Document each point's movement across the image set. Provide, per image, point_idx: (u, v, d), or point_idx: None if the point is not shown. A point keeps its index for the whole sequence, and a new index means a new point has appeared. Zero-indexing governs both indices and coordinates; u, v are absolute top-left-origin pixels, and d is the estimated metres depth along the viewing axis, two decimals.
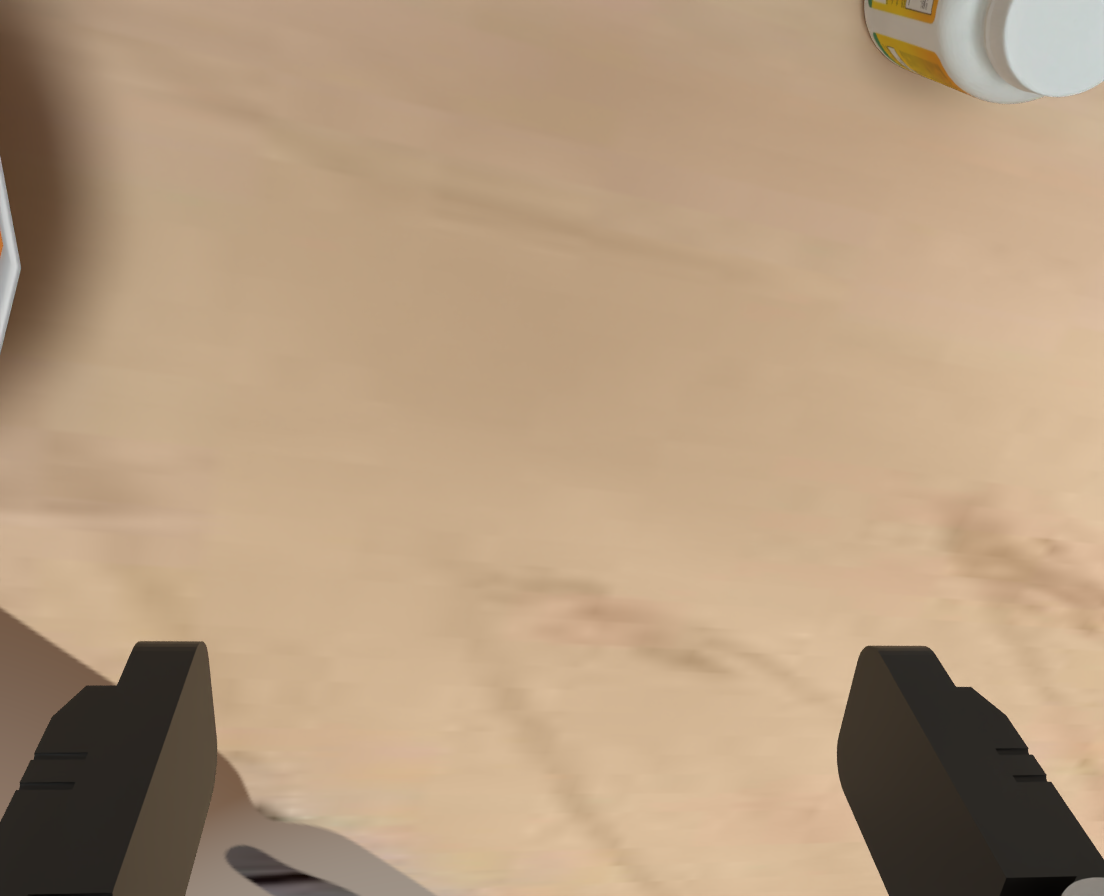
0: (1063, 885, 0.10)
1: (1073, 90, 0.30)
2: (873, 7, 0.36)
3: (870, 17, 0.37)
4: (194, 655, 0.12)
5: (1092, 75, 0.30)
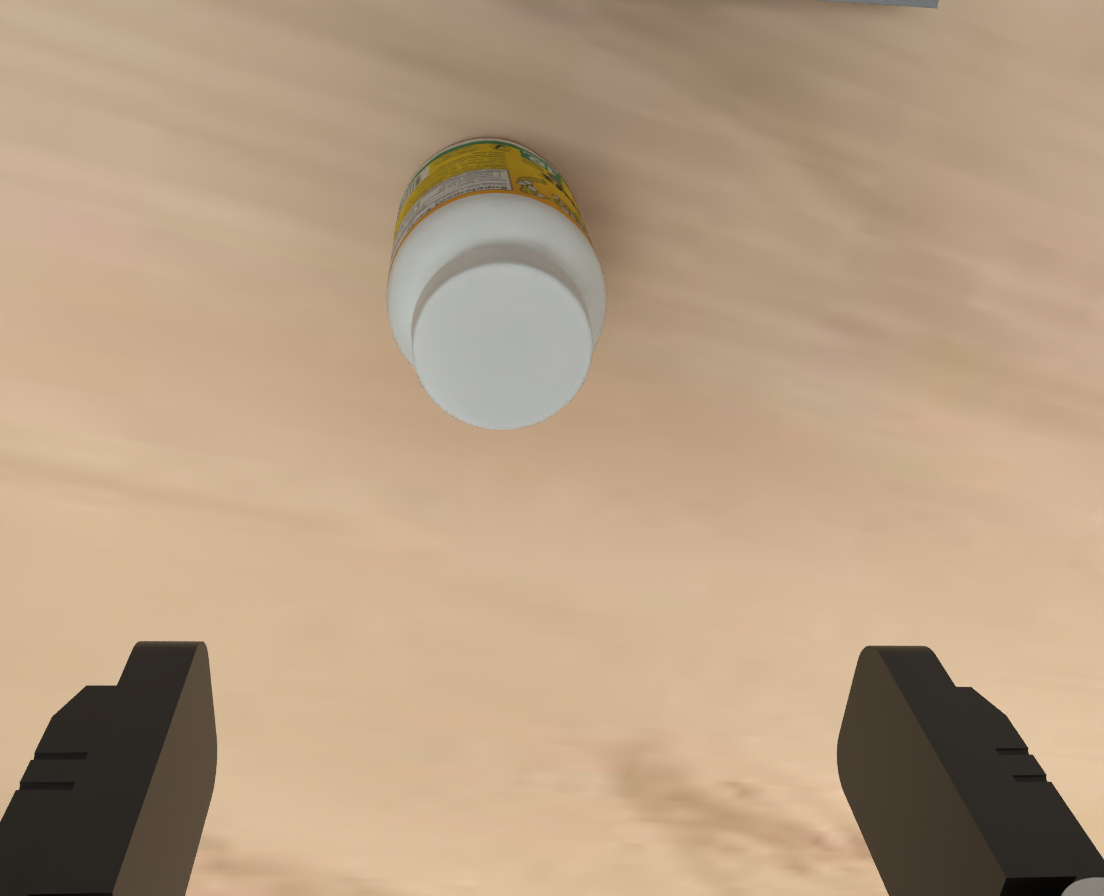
0: (1062, 885, 0.10)
1: (521, 423, 0.24)
2: None
3: None
4: (194, 655, 0.12)
5: (540, 406, 0.24)
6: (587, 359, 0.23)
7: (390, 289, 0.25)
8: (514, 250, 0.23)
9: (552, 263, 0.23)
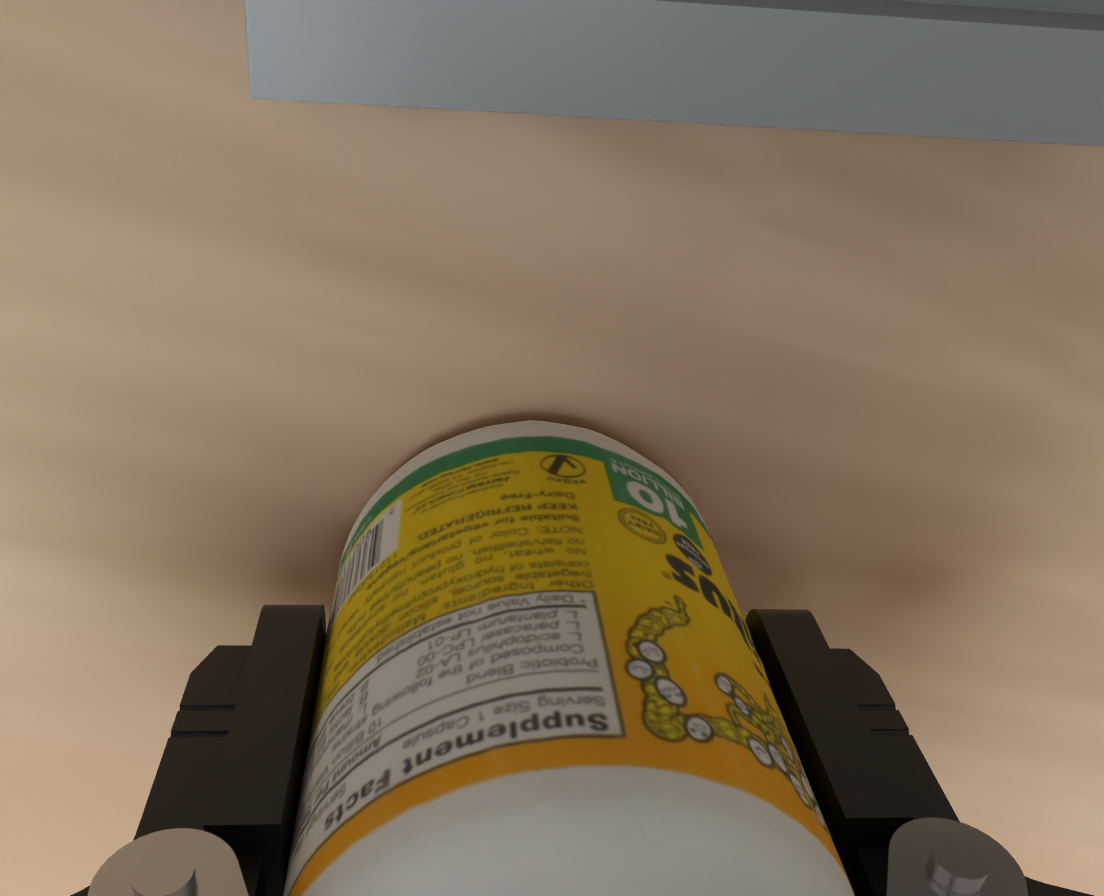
0: (901, 826, 0.10)
1: None
2: None
3: None
4: (318, 616, 0.12)
5: None
6: None
7: None
8: None
9: None
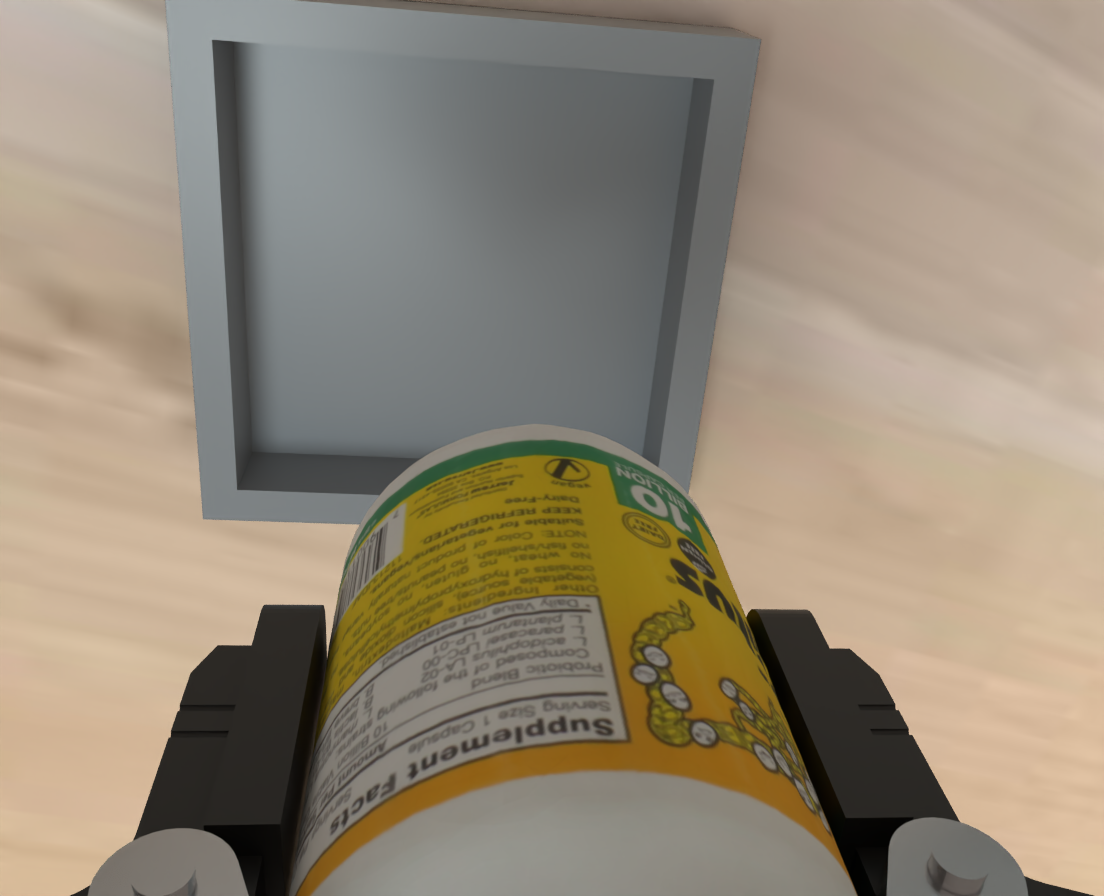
0: (901, 826, 0.10)
1: None
2: None
3: None
4: (318, 616, 0.12)
5: None
6: None
7: None
8: None
9: None
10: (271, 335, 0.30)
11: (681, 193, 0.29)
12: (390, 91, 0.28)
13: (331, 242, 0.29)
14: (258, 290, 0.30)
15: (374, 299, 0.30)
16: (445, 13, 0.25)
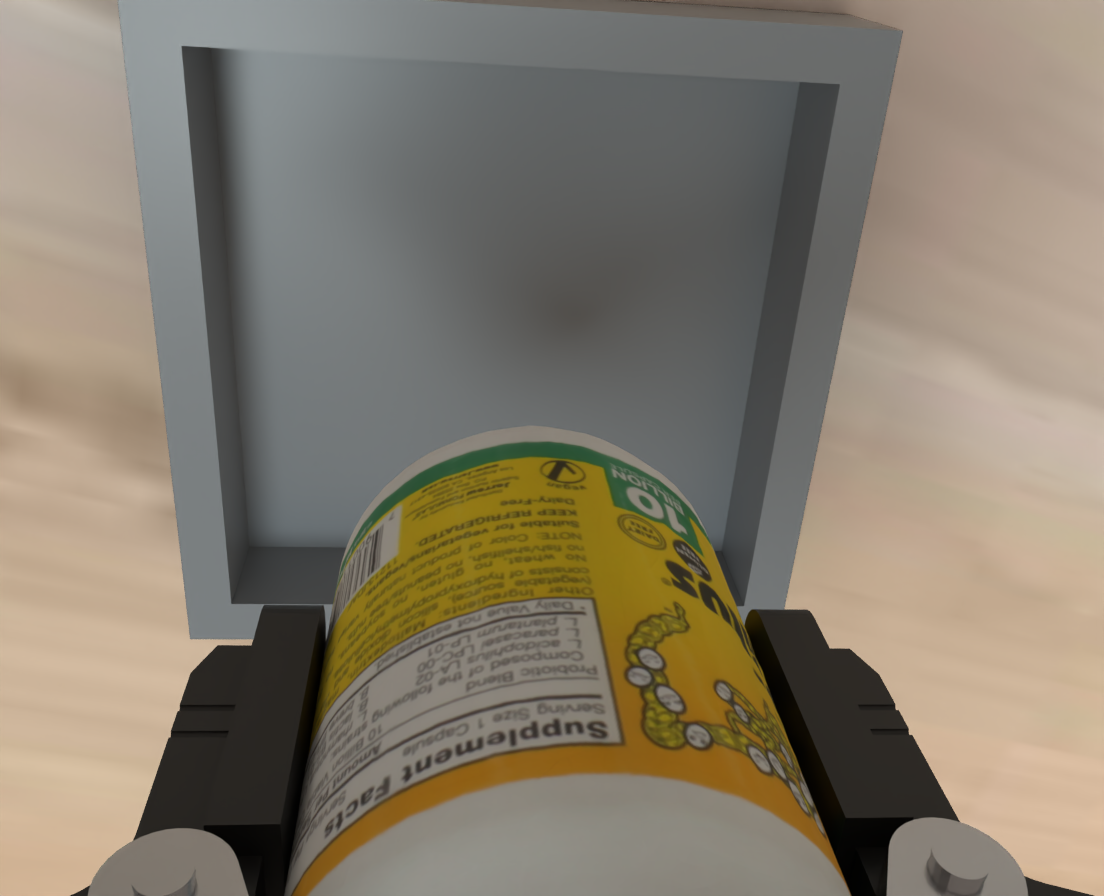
0: (900, 826, 0.10)
1: None
2: None
3: None
4: (318, 617, 0.12)
5: None
6: None
7: None
8: None
9: None
10: (270, 408, 0.24)
11: (782, 225, 0.23)
12: (414, 105, 0.22)
13: (342, 294, 0.23)
14: (251, 355, 0.24)
15: (396, 363, 0.24)
16: (489, 4, 0.19)
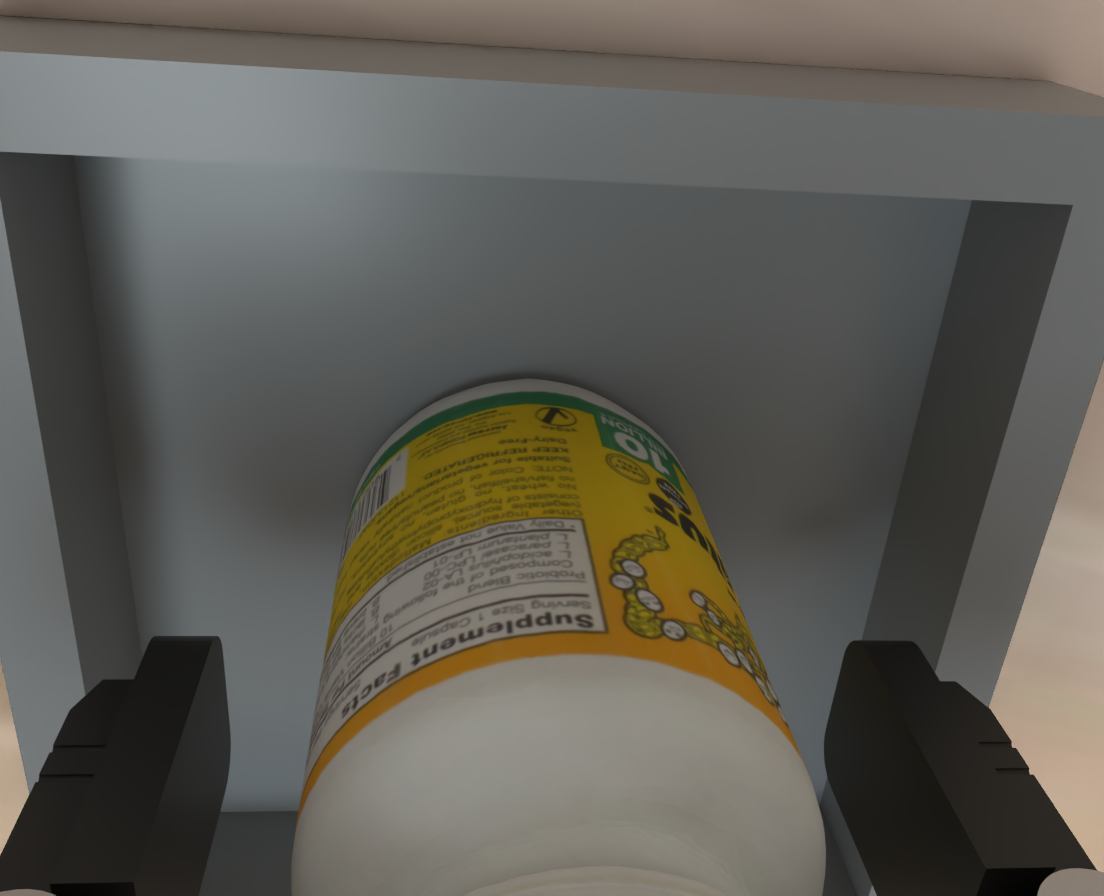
0: (1042, 876, 0.10)
1: None
2: None
3: None
4: (209, 649, 0.12)
5: None
6: None
7: (296, 880, 0.10)
8: None
9: None
10: None
11: (938, 390, 0.15)
12: (390, 220, 0.14)
13: (286, 487, 0.16)
14: (155, 570, 0.16)
15: None
16: (510, 82, 0.11)
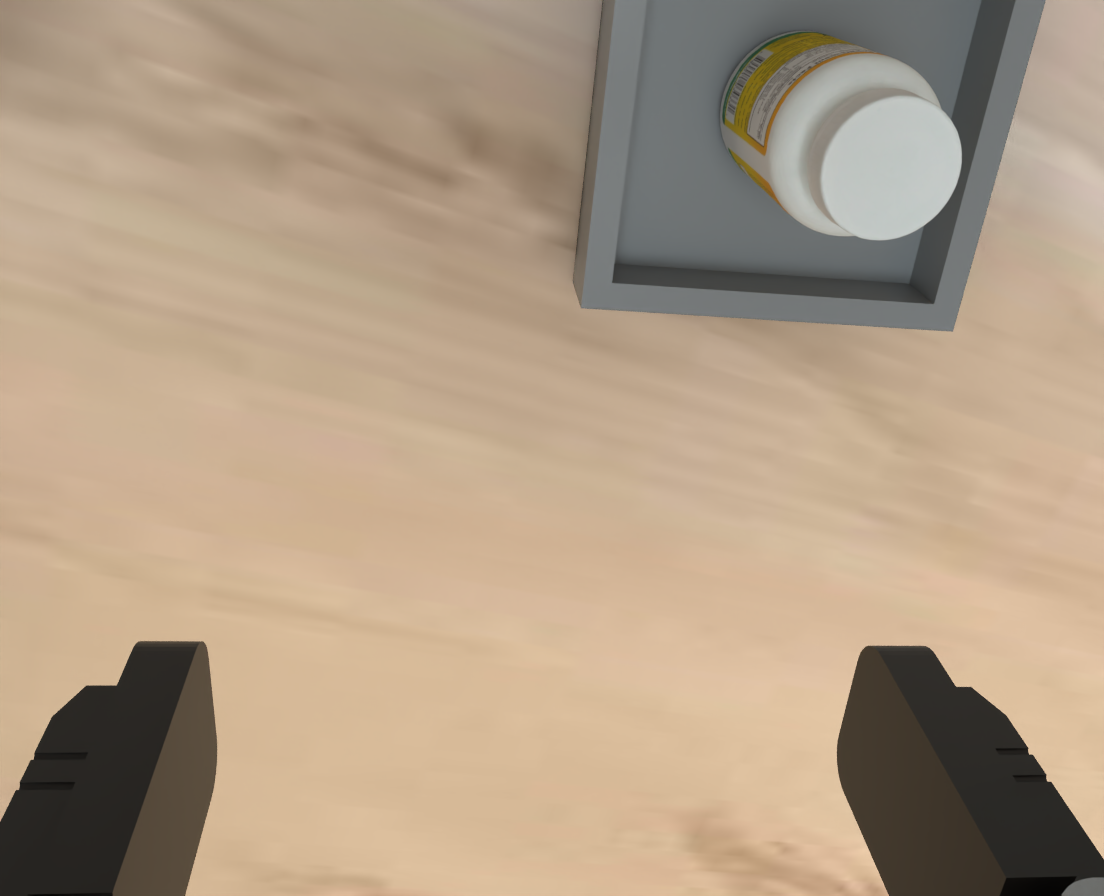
0: (1061, 885, 0.10)
1: (892, 234, 0.30)
2: (725, 124, 0.36)
3: (724, 133, 0.37)
4: (194, 655, 0.12)
5: (910, 221, 0.30)
6: (954, 181, 0.29)
7: (778, 129, 0.31)
8: (904, 90, 0.29)
9: None
10: (635, 161, 0.38)
11: (975, 45, 0.36)
12: None
13: (694, 83, 0.37)
14: None
15: (720, 132, 0.38)
16: None
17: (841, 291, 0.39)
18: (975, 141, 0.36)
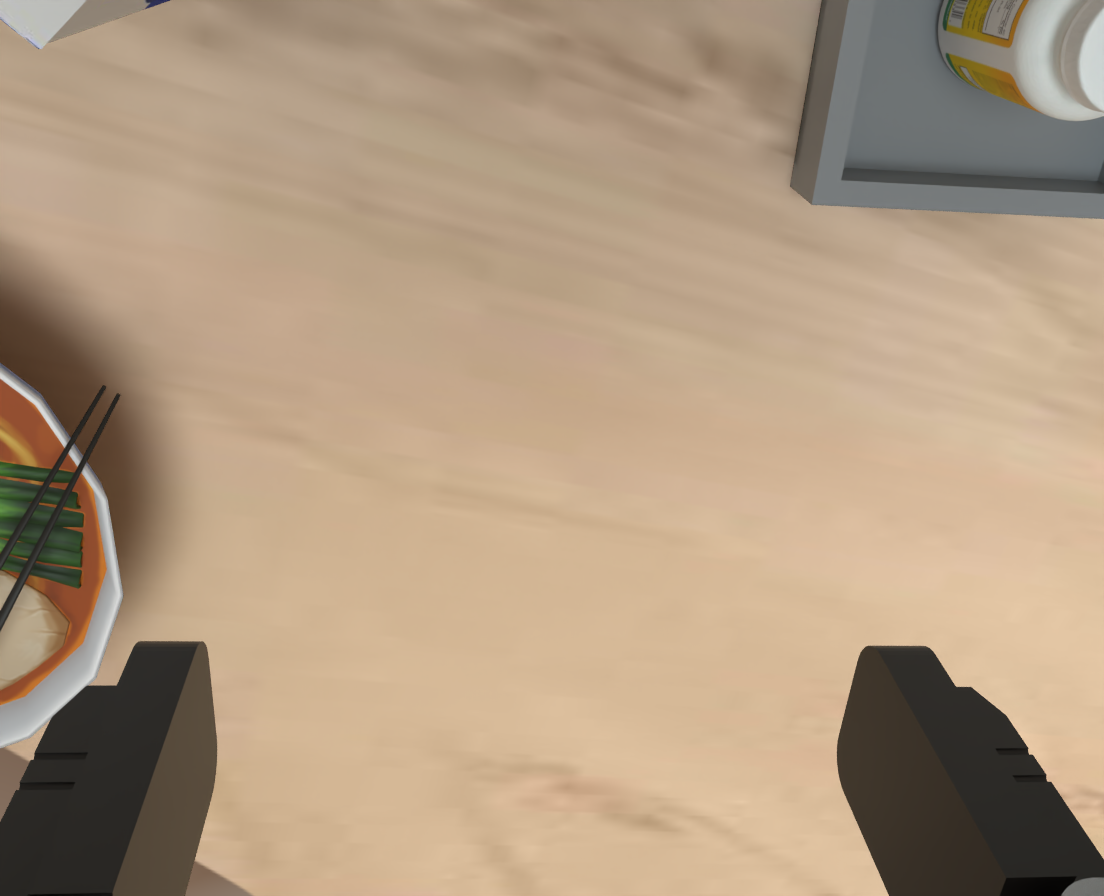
0: (1062, 885, 0.10)
1: None
2: (947, 30, 0.40)
3: (943, 39, 0.40)
4: (194, 655, 0.12)
5: None
6: None
7: (1028, 21, 0.34)
8: None
9: None
10: None
11: None
12: None
13: None
14: None
15: (935, 41, 0.41)
16: None
17: (1042, 186, 0.43)
18: None
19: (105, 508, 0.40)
